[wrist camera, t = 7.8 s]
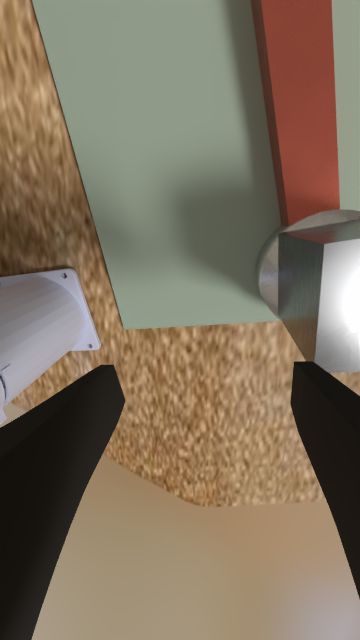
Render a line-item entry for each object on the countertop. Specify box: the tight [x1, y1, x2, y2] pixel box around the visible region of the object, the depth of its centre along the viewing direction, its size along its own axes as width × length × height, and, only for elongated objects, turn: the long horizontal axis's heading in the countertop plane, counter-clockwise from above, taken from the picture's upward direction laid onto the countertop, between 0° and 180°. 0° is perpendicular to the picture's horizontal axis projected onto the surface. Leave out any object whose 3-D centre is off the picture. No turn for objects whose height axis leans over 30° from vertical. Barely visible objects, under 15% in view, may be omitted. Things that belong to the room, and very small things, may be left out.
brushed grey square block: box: [278, 219, 360, 373], centre depth 10 cm, size 5×5×6 cm
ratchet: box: [251, 0, 360, 320], centre depth 10 cm, size 18×7×6 cm, turn 18°
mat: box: [32, 0, 360, 330], centre depth 13 cm, size 20×24×1 cm
